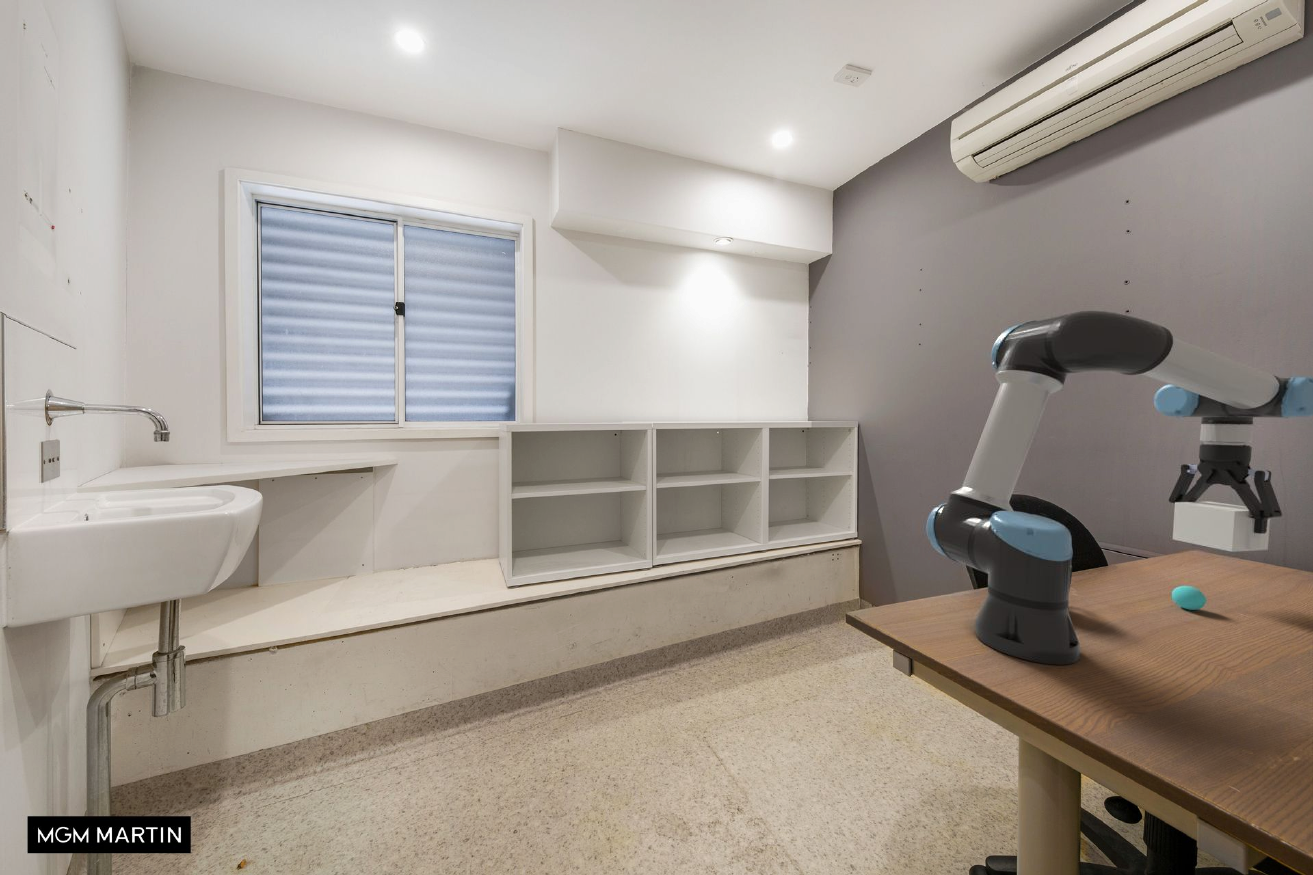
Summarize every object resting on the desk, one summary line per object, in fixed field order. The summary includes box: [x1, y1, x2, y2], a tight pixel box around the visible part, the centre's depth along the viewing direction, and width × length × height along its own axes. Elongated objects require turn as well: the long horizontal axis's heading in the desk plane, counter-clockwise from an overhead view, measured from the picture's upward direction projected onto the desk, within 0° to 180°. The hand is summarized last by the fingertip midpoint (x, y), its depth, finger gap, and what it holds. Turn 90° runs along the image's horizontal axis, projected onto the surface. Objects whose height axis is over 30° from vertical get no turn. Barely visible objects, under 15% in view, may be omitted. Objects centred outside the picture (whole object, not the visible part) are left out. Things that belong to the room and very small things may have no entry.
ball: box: [1171, 585, 1207, 611], centre depth 103 cm, size 5×5×5 cm
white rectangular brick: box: [1172, 500, 1271, 553], centre depth 107 cm, size 10×10×9 cm
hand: (1218, 540), depth 107 cm, fingers closed on white rectangular brick, 10 cm apart
